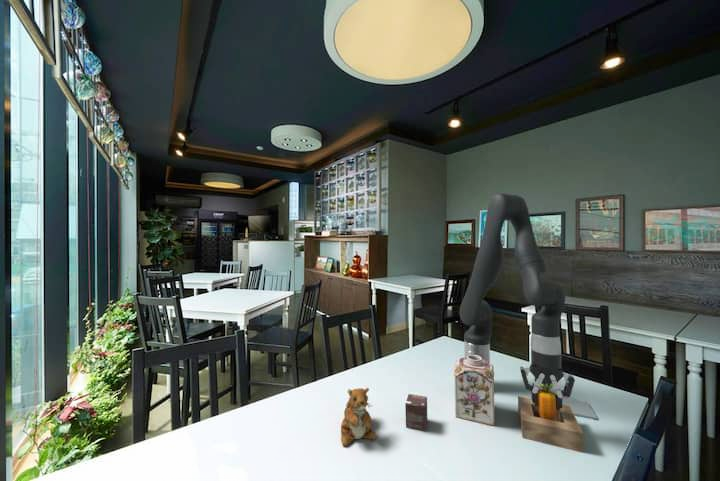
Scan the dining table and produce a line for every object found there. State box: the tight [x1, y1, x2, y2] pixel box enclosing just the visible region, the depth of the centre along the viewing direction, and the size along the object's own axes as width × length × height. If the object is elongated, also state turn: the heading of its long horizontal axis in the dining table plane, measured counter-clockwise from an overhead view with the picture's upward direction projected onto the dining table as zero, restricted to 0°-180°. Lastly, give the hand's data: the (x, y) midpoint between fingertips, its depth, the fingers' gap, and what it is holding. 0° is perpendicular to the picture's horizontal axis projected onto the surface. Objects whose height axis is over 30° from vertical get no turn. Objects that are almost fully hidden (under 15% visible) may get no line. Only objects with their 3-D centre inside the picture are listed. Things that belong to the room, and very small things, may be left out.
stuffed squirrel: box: [340, 387, 377, 447], centre depth 85 cm, size 10×14×13 cm
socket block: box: [517, 395, 584, 453], centre depth 84 cm, size 14×14×5 cm
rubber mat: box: [562, 397, 598, 421], centre depth 95 cm, size 10×10×1 cm
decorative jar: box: [453, 355, 496, 426], centre depth 93 cm, size 12×12×18 cm
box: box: [404, 393, 428, 432], centre depth 87 cm, size 6×6×7 cm
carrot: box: [537, 383, 556, 421], centre depth 84 cm, size 5×5×15 cm
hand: (546, 406), depth 84 cm, fingers closed on carrot, 5 cm apart
